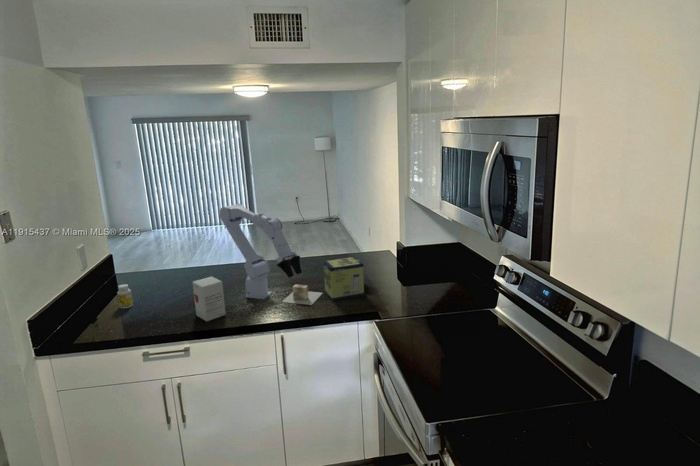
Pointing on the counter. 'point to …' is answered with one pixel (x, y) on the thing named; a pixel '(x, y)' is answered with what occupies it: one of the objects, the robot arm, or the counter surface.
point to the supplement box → (209, 298)
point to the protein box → (344, 278)
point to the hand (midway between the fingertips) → (295, 275)
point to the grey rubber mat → (312, 298)
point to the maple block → (300, 292)
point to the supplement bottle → (124, 296)
